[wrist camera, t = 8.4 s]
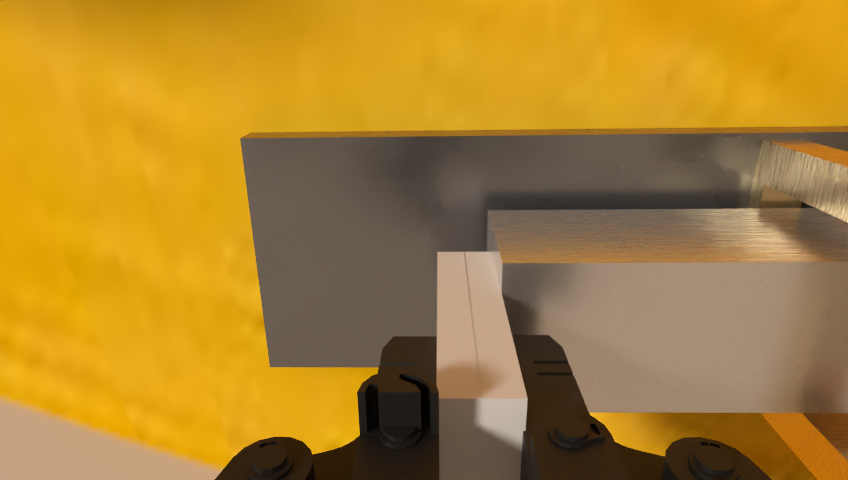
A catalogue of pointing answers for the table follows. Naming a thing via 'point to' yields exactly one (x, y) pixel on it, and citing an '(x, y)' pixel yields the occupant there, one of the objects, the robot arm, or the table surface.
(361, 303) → the rail
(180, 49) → the table surface
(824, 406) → the pale grey bar
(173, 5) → the table surface
